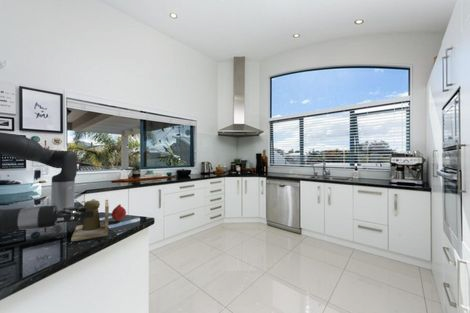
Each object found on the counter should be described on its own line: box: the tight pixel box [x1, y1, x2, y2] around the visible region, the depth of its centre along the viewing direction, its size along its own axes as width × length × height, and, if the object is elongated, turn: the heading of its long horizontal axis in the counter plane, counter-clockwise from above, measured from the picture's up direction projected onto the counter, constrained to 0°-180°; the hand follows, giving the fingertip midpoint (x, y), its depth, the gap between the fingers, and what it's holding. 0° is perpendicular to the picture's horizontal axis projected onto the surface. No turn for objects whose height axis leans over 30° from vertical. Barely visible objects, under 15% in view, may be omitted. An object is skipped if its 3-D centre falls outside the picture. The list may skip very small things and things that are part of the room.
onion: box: [111, 204, 127, 222], centre depth 95 cm, size 6×6×8 cm
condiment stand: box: [70, 199, 110, 242], centre depth 81 cm, size 16×11×11 cm
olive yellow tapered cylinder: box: [82, 199, 101, 231], centre depth 81 cm, size 6×6×11 cm
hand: (93, 211), depth 81 cm, fingers open, 8 cm apart
